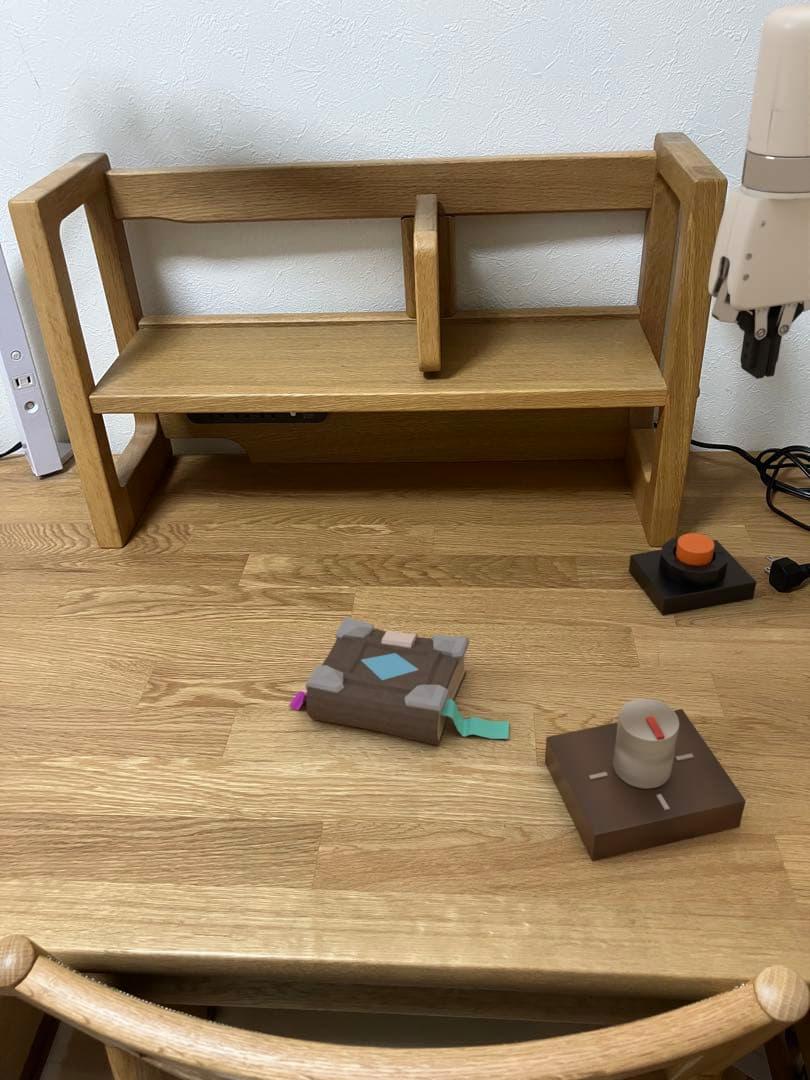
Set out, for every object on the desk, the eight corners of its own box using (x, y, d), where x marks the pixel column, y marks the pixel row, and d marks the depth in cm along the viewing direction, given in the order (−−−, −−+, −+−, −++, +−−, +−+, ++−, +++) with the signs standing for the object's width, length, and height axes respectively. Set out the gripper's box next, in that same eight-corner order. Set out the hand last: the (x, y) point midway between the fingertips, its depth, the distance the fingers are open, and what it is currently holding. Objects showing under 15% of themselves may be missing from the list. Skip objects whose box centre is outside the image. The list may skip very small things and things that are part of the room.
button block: (713, 556, 98) (719, 525, 96) (753, 599, 91) (760, 567, 89) (628, 571, 96) (631, 540, 94) (662, 616, 90) (667, 584, 88)
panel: (677, 734, 77) (682, 707, 75) (739, 826, 68) (746, 799, 67) (544, 762, 75) (546, 735, 73) (591, 861, 66) (594, 833, 65)
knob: (604, 750, 71) (610, 700, 68) (656, 741, 72) (664, 691, 69) (625, 793, 68) (632, 742, 65) (680, 783, 68) (690, 732, 65)
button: (701, 544, 94) (703, 530, 93) (718, 563, 91) (721, 549, 90) (669, 550, 93) (671, 536, 92) (686, 569, 90) (688, 555, 89)
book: (529, 669, 84) (531, 627, 81) (500, 765, 75) (501, 721, 72) (332, 634, 90) (327, 595, 87) (282, 720, 80) (275, 678, 77)
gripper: (838, 153, 81) (802, 347, 91) (687, 174, 78) (667, 370, 88) (896, 169, 75) (850, 374, 85) (733, 191, 72) (706, 400, 82)
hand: (757, 372), depth 87 cm, fingers closed
